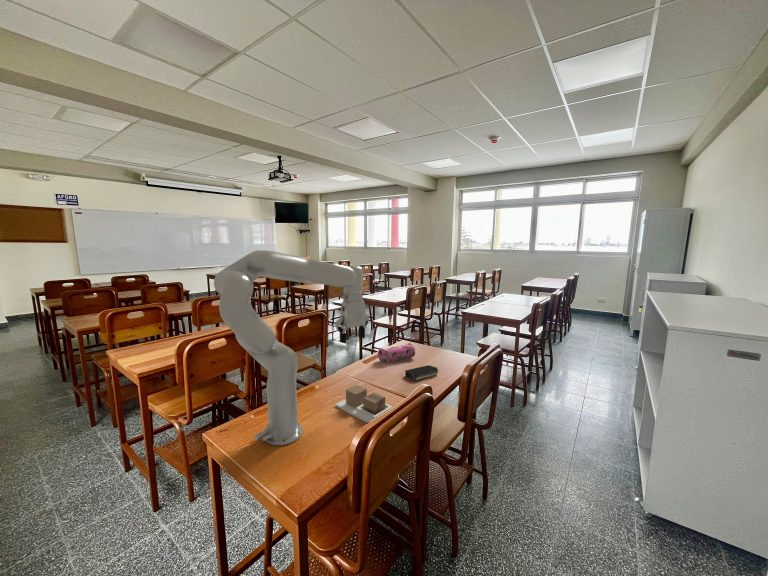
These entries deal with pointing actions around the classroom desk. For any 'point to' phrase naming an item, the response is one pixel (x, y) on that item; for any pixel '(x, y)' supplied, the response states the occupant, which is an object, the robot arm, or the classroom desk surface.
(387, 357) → the pencil case
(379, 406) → the walnut block
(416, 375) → the black sponge
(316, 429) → the classroom desk surface
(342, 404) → the assembly board
